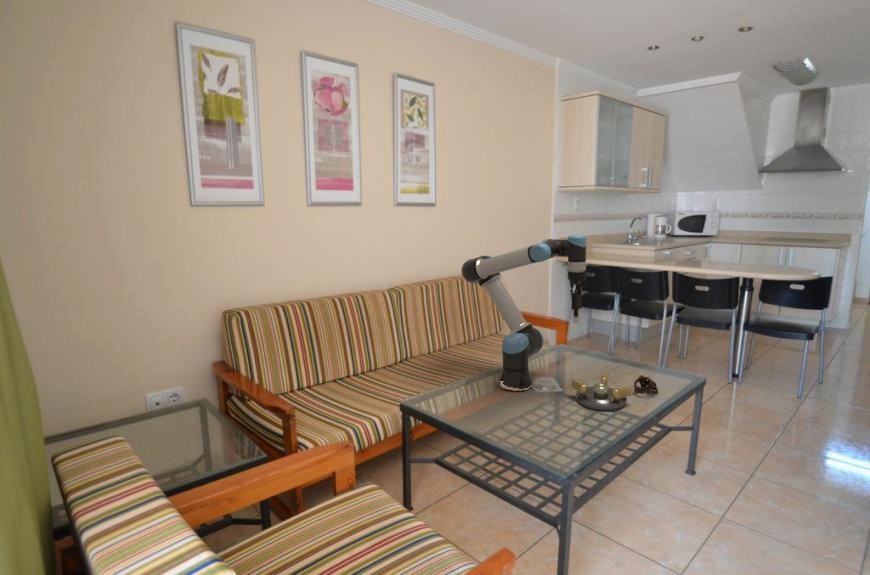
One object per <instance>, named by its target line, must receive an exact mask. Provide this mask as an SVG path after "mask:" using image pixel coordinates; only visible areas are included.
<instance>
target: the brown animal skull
mask: <svg viewBox="0 0 870 575" xmlns="http://www.w3.org/2000/svg"><path fill="white" fill-rule="evenodd" d="M637 383H639V384H640V386H641V387H639V386H638V385H637ZM633 384H634V386H633V391H634V392H633V393H634V394H641V395H642V394H646V393H653V392H652V391H655V392H656V394H657V393H658V394H659V389H658V387H657V383H656V382H655V380H653V379H651V378H650V377H649V376H645V375H642V374H641V375H639V376H638V377H637V378H636V379H635V380H634V382H633ZM651 389H652V390H651Z"/></svg>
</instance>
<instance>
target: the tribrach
mask: <svg viewBox="0 0 870 575" xmlns="http://www.w3.org/2000/svg"><path fill="white" fill-rule="evenodd" d="M613 389H614V388H611V387H610V386H609V385H606V384H603V383H601V382H600V383H599V382H598V383H597V382H596V383H594V384H593V386H587V397H580V392H579V391H577V390H576V394H575V400H576V402H577V403H578V404H579V405H580V406H582V407H583V408H586V409H588V410H591V411H597V412H598V411H599V412H616V411H620V410H622V409H624V408H625V407H626V406H627V397H622V398H620V402H619V403H615V402H613V401H612V394H613Z"/></svg>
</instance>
